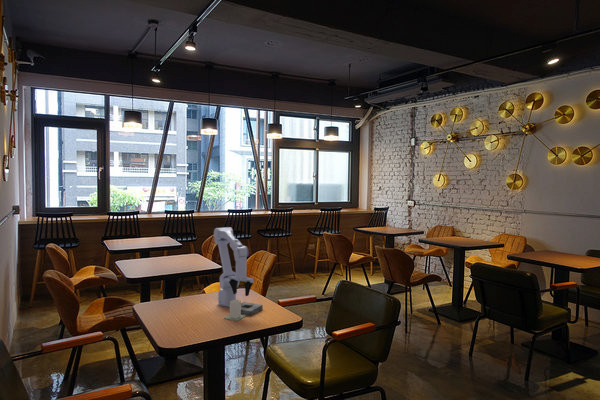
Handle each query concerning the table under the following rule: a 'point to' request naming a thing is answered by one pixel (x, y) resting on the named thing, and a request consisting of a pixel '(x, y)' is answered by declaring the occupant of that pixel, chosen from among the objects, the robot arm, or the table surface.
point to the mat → (234, 318)
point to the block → (235, 308)
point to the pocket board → (250, 308)
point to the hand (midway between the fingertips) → (241, 294)
